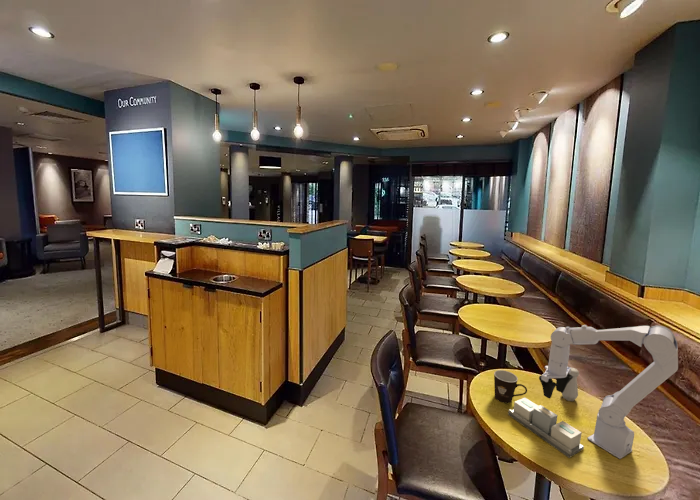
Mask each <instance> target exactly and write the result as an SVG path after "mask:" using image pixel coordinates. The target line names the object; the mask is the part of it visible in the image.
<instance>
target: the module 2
mask: <svg viewBox="0 0 700 500" xmlns="http://www.w3.org/2000/svg"><path fill="white" fill-rule="evenodd" d="M582 433H583V432H582V431H580V430H579V429H576V428H575V427H574V426H571V424H569V423H567V422H566V421H564V420H562V421H559V422H558V423H557V422H556V424H555V425H553V426H552V430H551V437H552V438H553V439H555V440H556V441H558V442H559V443H561V444H562V445H564V446H565V447H567V448H568V449H570V450H571V449H573V448H575V447H576V446H578V445H580V444H581V438H582Z"/></svg>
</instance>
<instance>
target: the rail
mask: <svg viewBox="0 0 700 500" xmlns="http://www.w3.org/2000/svg"><path fill="white" fill-rule="evenodd" d="M507 410H508V411H507V416H509V417H510V418H511V419H513V420H515V421H516V422H517V423H519V425H522V426H523V427H524V428H525V429H527V430H528V431H530V432H531V433H533V434H535V436H538V437H539V438H540V439H542V440H543V441H545V443H548V445H550V446H551V447H553V448H554V449H556V450H557V451H559V452H560V453H562V454H563V455H564V456H565V457H567V458H568V459H569V458H572V457H574V456H575V455H576V454H578V453H580V452H581V451H583V450H584V448H585V446H584V445H583V444H581V443H580V445H578V446H576V447H575V448H573V449H571V450H570V449H568V448H567V447H565V446H564V445H562V444H561V443H559V442H558V441H556V440H555V439H553V438H552V437H551V433H550V434H547V433H546V432H544V431H543V430H541V429H540V428H538V427H537V426H535V425H534V424H532V421H531V422H529V421H527V420H526V419H524V418H523V417H521V416H520V415H518V414H517V413H515V412H514V411H513V410H514V409H511V408H509V409H507Z"/></svg>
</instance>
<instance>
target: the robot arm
mask: <svg viewBox="0 0 700 500" xmlns="http://www.w3.org/2000/svg"><path fill="white" fill-rule="evenodd" d="M550 340H551V345H550V350H549V357H548V365H545V366H544V369H545V371H544V373H543V374H541V375H539V377H538V379H539V381H540V384H541V386H542V390H543V396H544V397H546V398H547V399H551V398H552V396H553V392H554V390H555V388H556V391H557V392H559V393H561V394H562V393H563V392H564V390H565V388H566V386H567V384H568V383H569V381H570V380H571V379H572V378H573V376H572V375H570V374H568V373H571V368H572V367H571V368H570V366H569V365H568V364H569V358H570V353H571V352H570V348H571V345H576V346H577V345H596V344H598V343H599V342H600V341H624V342H625V341H628V342H629V341H630V342H632V343H633V344H634V345H637V346H638V347H640V348H642V346H643V345H644V347H645V349H646V350H647V352H648V353H649V354H650V355H651V357H652V359H653V360H652V361H653V362H651V363H650V364H649V365H648V366H646V368H644V369H643V370H642V371H641V372H640V373H639V374H637V376H636V377H634V378H633V379H632V380H631V381H629V382H628V383H627V384H626V385H625V386H623V388H621V390H618V391H616V392H614V393H613V394H610V395H605V397H603V399H602V402H601V406H600V407H599V409H598V412H597V416H596V420H595V421H596V422H595V426H594V432H593V434H591V435H589V436H588V437H587V440H589V441H590V442H592V443H594V444H595V445H597V446H598V447H600V448H602V449H603V450H605V451H606V452H608V453H609V454H610V455H612V456H614V457H615V458H618V460H621V459H622V458H624V457H626V456H628V455H629V454H630V453H631V452H633V444H634V440H635V431H633V430H632V429H631V428H629V426H627V425H626V421H625V417H627V416H628V415H629V413H630V412H631V410H632V409H633V408H634V406H636V405H637V404H638V403H640V402H641V401H642V400H643V399H645V397H647V396H648V395H649V394H651V393H652V392H653V391H654V390H656V389H657V388H658V387H659V386H661V385H663V383H664V382H665V381H666V380H668V379H670V378H671V377H672V376H673V375H674V374H675V373H676V372H678V369H679V354H678V353H679V349H678V341H677V339H676V336H675V335H674V333H673V331H672V330H670V329H669V328H668V327H666V326H663V325H652V326H651V327H650V325H638V326H627V327H620V328H619V327H617V328H607V329H596V327H595V328H594V327H592V326H588V325H587V324H583V325H581V327H578V326H577V327H570V326H565V327H564V326H559V327H556V328H555V329H554V330H553V331H552V333H551V334H550ZM553 379H555V380H556V381H555V382H554V380H553Z"/></svg>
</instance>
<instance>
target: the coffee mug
mask: <svg viewBox="0 0 700 500" xmlns="http://www.w3.org/2000/svg"><path fill="white" fill-rule="evenodd" d="M493 376H494V378H493V381H494V386H493V388H494V398H495V399H496V400H497V401H499V402H500V403H503V404H511V403H512V402H513V398H515V397H519V396H520V397H521V396H524V395H526V394H527V393H528V388H527V387H526V386H525V385H524V384H522V383H518V380H519V378H518V376H517V375H516V374H514V373H513V372H512V371H511V372H510V371H508V370H504V369H499V370H498V369H497V370H495V371H494V373H493ZM519 386H520V387H523V389H524V390H525V392H523V393H518V394H517V393H516V394H515V390H516V388H517V387H519Z"/></svg>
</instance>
